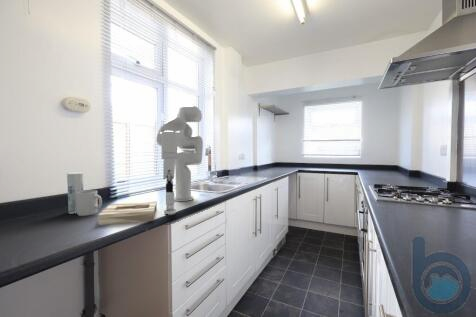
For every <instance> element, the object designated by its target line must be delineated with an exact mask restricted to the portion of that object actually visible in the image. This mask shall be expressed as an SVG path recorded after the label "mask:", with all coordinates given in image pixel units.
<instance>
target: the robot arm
mask: <svg viewBox="0 0 476 317" xmlns="http://www.w3.org/2000/svg"><path fill="white" fill-rule="evenodd" d="M202 117H203V114H202V111H201V110H200V108H199V107H198V106H196V105H178V106H176V107H175V109H174V112H173V115H172V118H171V119H170V120H168V121H167V122H165V123H164V124H162V125H161V126H160V127H159V129H158V131H157V134H156V143H157V145H158V146H160V147H161V160H163V167H162V168H163V171H162V172H163V174H162V176H163V180H166V182H165V193H166V192H173V191H174V179H175V196H174V202H189V201H192V200H194V196H193V195H192V177H191V176H192V172H191V171H192V170H190V168H189V166H199V165H202V161H203V148H204V147H203V146H204V142H203V137H202V136H200V135H193V129H192V127H191V126H190V125H189V124H188V123H200V122H202V119H203V118H202ZM178 148H179V150H178Z"/></svg>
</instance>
